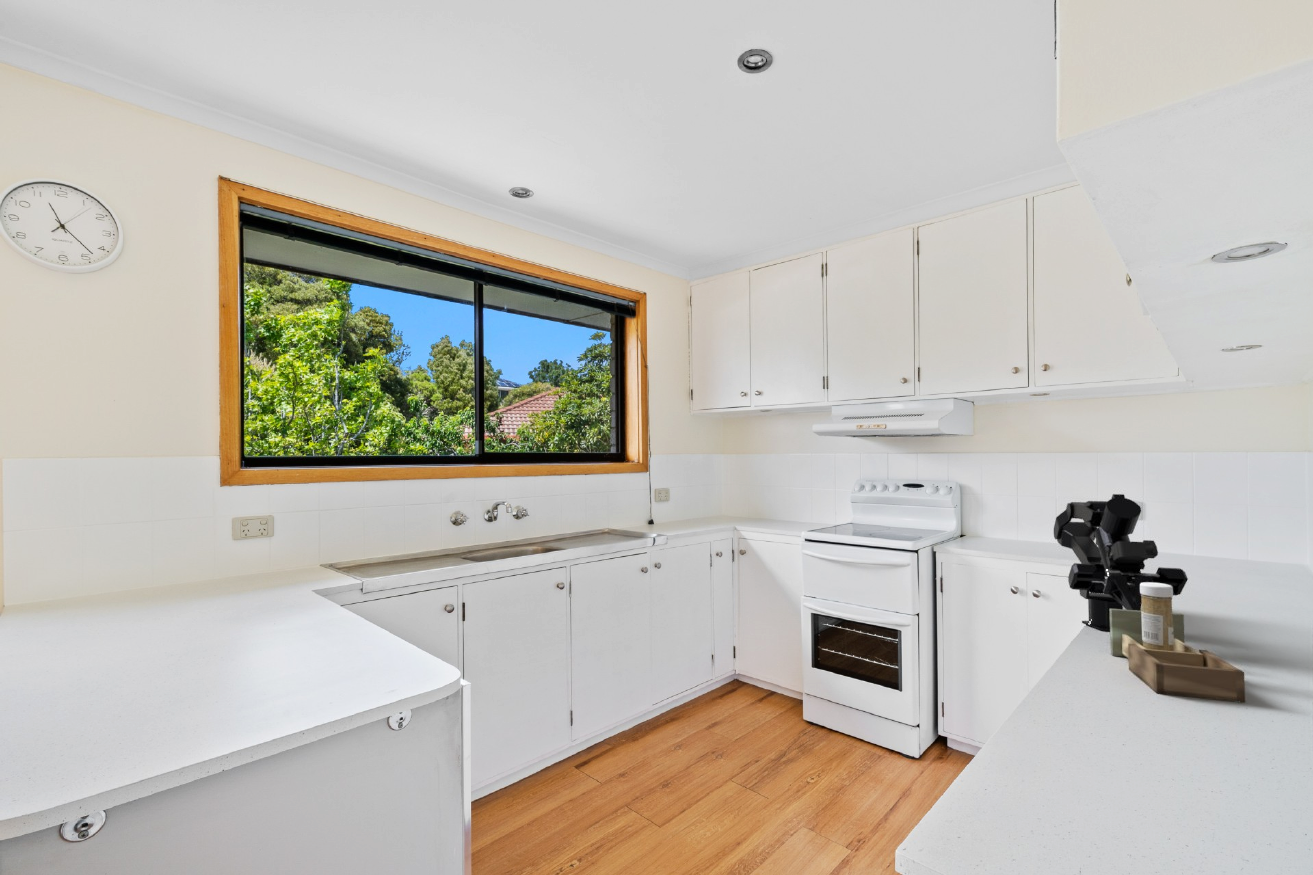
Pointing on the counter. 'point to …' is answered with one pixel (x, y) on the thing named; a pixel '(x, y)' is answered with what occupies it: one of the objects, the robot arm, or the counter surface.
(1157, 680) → the walnut caddy
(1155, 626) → the spice jar
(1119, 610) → the drawer
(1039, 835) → the counter surface
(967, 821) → the counter surface
